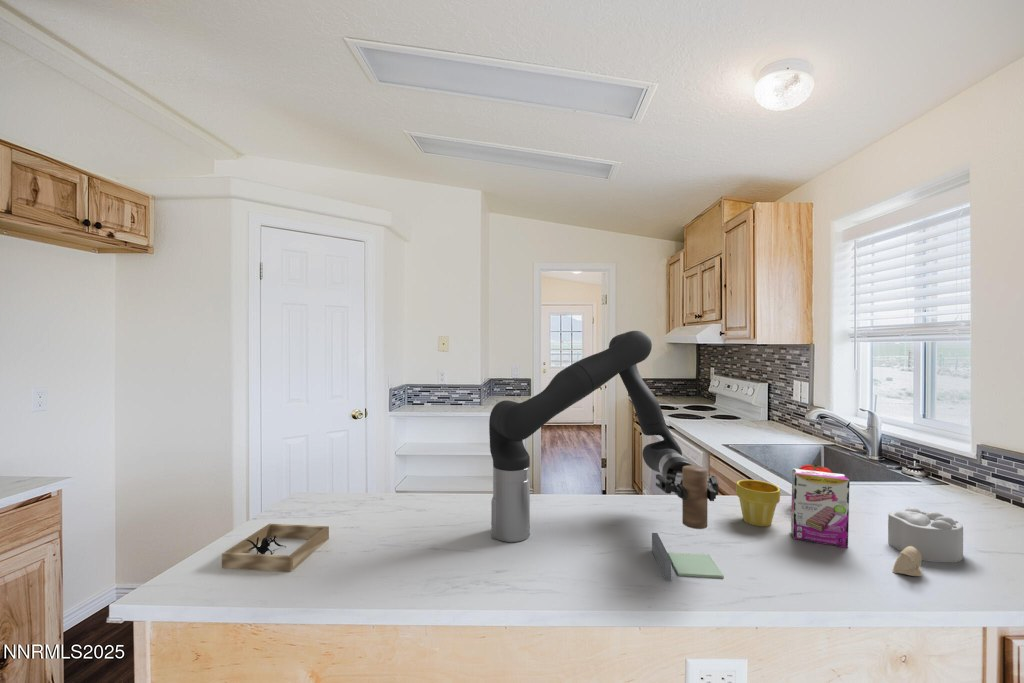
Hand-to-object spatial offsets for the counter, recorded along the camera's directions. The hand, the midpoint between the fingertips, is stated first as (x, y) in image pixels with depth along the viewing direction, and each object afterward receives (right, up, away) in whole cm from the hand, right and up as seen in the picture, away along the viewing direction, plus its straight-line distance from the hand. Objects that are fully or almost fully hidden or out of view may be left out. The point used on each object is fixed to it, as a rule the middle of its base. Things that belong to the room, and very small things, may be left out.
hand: (698, 496), depth 93 cm
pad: (0, -16, +3) cm, 16 cm away
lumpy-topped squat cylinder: (+57, -16, +10) cm, 60 cm away
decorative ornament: (+44, -16, 0) cm, 47 cm away
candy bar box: (+36, -16, +15) cm, 42 cm away
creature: (-96, -16, +9) cm, 97 cm away
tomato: (+48, -16, +34) cm, 61 cm away
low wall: (-7, -16, +3) cm, 18 cm away
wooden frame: (-93, -16, +9) cm, 94 cm away
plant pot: (+27, -16, +26) cm, 41 cm away
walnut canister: (0, -7, +3) cm, 8 cm away
